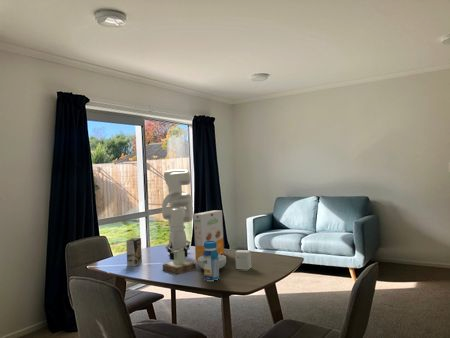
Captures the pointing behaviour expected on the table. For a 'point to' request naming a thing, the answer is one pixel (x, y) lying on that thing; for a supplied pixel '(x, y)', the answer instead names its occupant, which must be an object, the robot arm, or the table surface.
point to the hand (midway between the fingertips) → (178, 258)
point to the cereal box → (208, 231)
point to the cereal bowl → (221, 261)
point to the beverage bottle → (211, 261)
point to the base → (179, 267)
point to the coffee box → (134, 252)
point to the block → (179, 257)
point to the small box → (243, 259)
